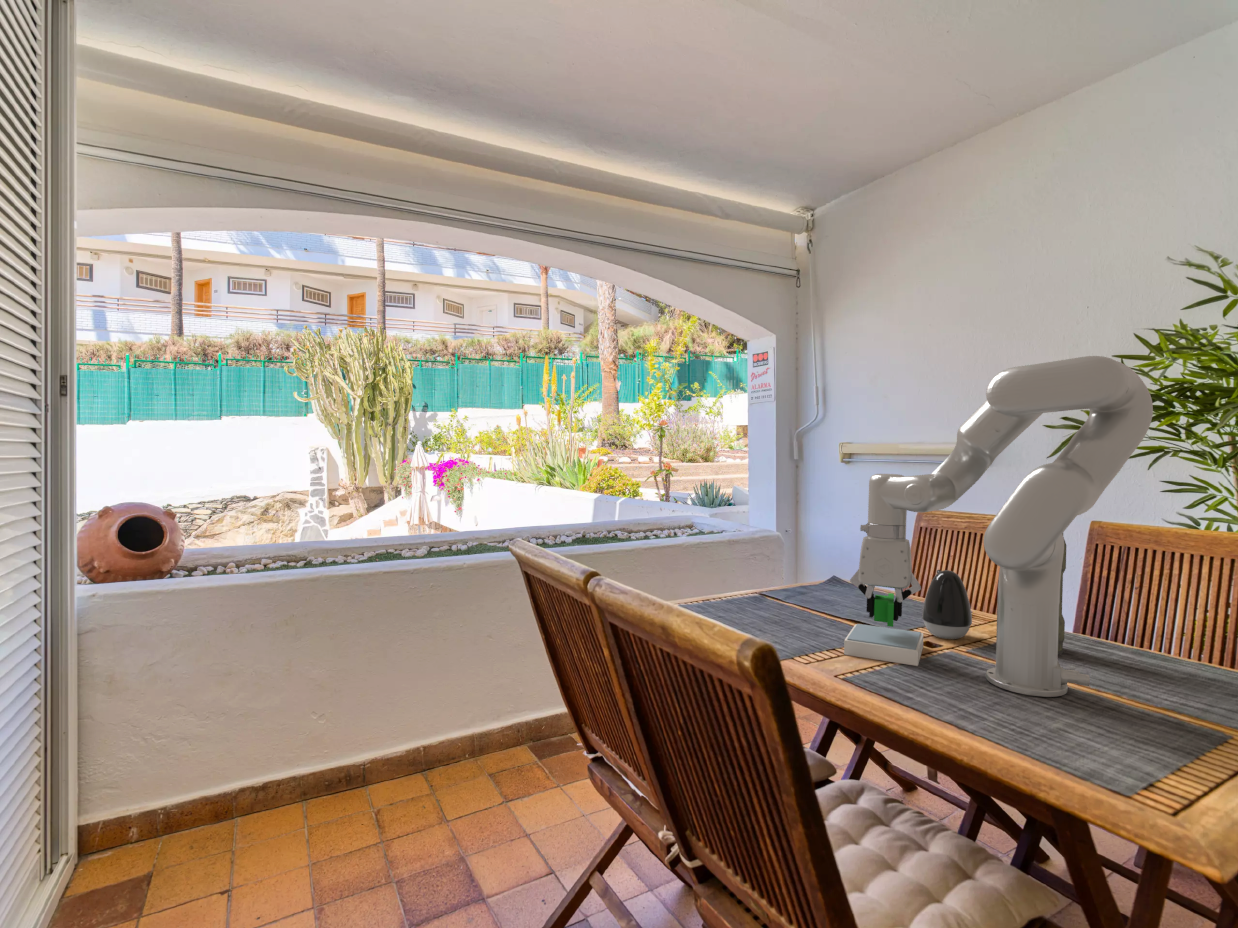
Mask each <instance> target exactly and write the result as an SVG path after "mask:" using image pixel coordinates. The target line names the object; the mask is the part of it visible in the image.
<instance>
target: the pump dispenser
mask: <svg viewBox="0 0 1238 928" xmlns="http://www.w3.org/2000/svg"><path fill="white" fill-rule="evenodd" d="M922 607H923V608H922V614H921V618H922V620H923V623H924V624H923V625H925V626H924V627H925V628H926V630H927V631H928V632H929V633H930V634H932V635H933V636H935V638H940V639H945V640H958V639H960V638H963V637H965V636H966V635H967V634H968V632H969V630H970V628H971V625H973V616H972V610H971V609H972V608H971V603H970V600H969V595H968V593H967V589H966V587H965V585H964V582H963V581H962V578H961V577H960V575H959V574H957V572H954V571H952V570H950V569H949V570H947V569H945V570H944V569H943V570H941V569H937V570H936V574H935V575H934V577H933V578H932V580H931V582H930V584H929V587H928V588H927V591H926V595H925V598H924V602H923V605H922Z"/></svg>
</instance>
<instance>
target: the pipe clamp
mask: <svg viewBox="0 0 1238 928" xmlns="http://www.w3.org/2000/svg"><path fill="white" fill-rule="evenodd" d="M887 594H888V595H885V594H884V595H883V594H882V595H881V594H874V597H875V605H874V616H873V622H882V623H887V625H886V627H890V628H893V627H894V620H893V618H894V601H895V594H894V593H891V592H889V593H887Z"/></svg>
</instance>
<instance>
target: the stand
mask: <svg viewBox="0 0 1238 928" xmlns="http://www.w3.org/2000/svg"><path fill="white" fill-rule="evenodd" d="M923 649H924V633H923V632H921V631H914V630H908V629H907V630H906V629H900V628H899V629H898V628H893V627H884V626H877V625H869V624H864V623H863V624H862V623H857V624H856V623H855V624H854V625H853V627H852V628H851V630H850V631H849V632H848V634H847V636H846V637H845V639H844V642H843V654H844V655H845V656H850V657H851V656H852V657H857V658H858V657H859V658H863V659H870V660H877V661H882V662H883V661H884V662H889V663H896V664H904V665H909V666H914V667H918V666H919V664H920V663H919V662H920V660H921V656H922V652H923Z"/></svg>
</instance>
